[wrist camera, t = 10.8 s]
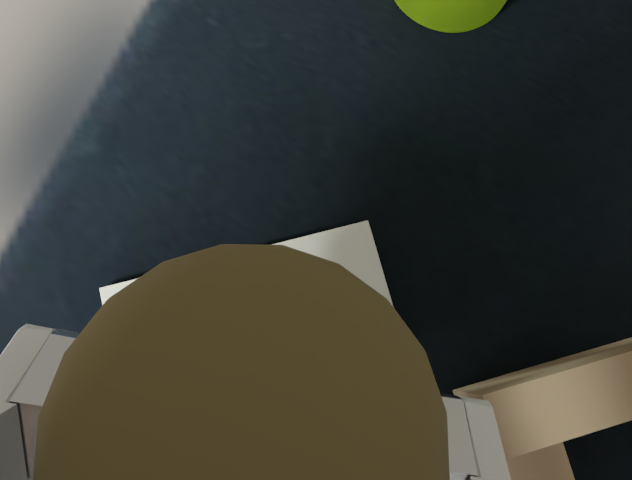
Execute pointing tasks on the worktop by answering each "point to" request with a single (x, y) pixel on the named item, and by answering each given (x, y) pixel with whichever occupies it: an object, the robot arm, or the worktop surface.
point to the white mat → (327, 255)
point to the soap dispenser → (451, 13)
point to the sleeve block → (557, 407)
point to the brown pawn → (244, 379)
